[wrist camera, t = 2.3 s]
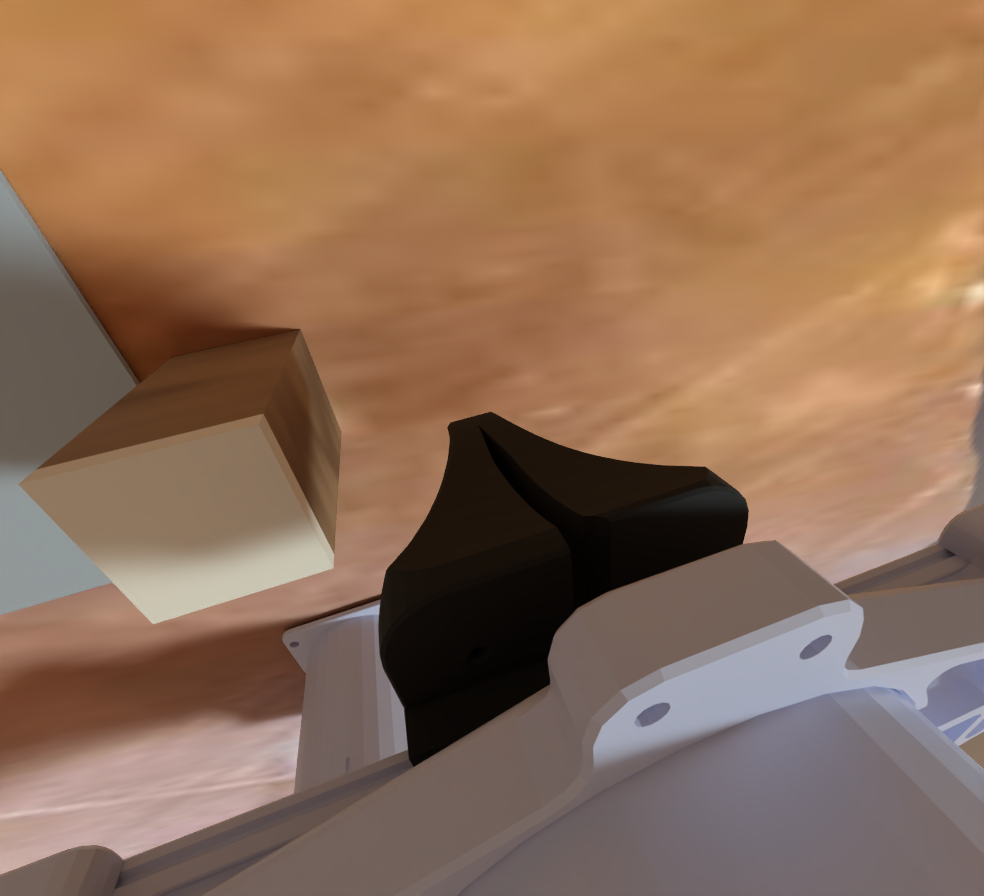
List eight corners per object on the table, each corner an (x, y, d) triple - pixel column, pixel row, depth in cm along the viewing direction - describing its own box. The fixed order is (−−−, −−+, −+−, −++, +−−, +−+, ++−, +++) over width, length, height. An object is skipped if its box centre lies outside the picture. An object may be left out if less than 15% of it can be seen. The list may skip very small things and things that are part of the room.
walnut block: (341, 431, 20) (333, 568, 12) (232, 460, 19) (153, 624, 12) (300, 329, 17) (258, 424, 10) (171, 357, 16) (18, 484, 9)
